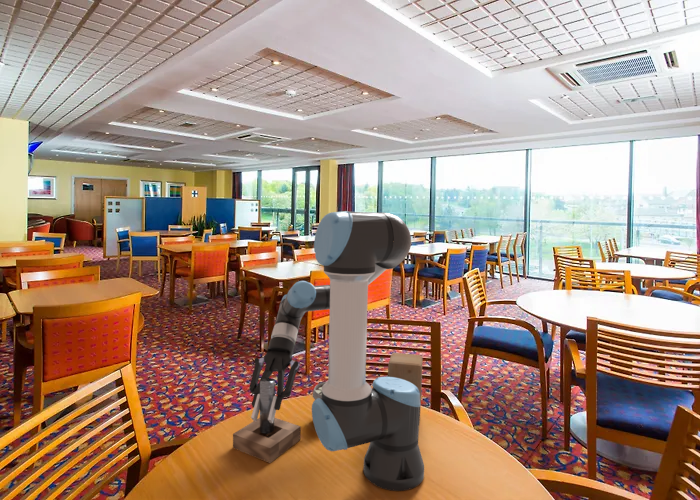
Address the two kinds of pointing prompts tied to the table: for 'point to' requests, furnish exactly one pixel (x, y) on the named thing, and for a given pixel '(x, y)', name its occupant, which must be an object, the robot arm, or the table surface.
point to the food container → (318, 391)
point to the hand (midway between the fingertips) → (262, 420)
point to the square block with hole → (266, 439)
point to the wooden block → (406, 369)
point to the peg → (266, 404)
